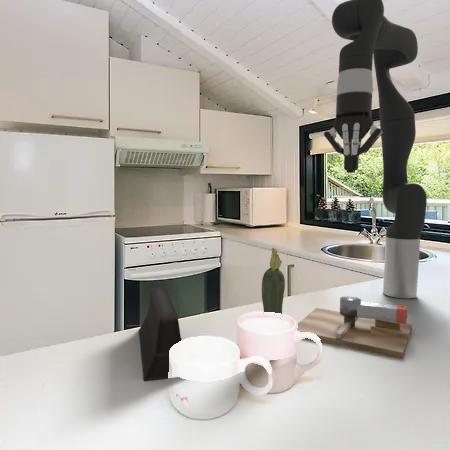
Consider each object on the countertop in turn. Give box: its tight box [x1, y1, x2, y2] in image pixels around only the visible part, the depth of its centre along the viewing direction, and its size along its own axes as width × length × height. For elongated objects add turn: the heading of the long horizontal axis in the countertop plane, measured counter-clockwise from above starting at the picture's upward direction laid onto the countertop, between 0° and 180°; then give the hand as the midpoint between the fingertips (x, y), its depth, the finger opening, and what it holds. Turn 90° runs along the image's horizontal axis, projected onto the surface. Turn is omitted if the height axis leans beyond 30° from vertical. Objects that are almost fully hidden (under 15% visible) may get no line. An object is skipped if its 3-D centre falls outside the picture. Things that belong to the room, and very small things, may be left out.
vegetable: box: [261, 247, 286, 315], centre depth 74 cm, size 4×4×20 cm
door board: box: [297, 307, 413, 360], centre depth 86 cm, size 18×22×3 cm
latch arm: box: [339, 295, 408, 324], centre depth 85 cm, size 14×4×3 cm, turn 67°
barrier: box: [138, 287, 183, 382], centre depth 75 cm, size 24×9×10 cm, turn 14°
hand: (350, 172), depth 88 cm, fingers closed
